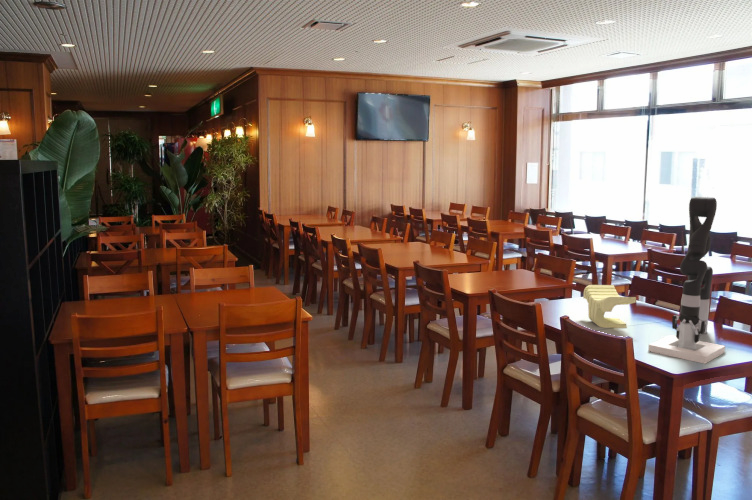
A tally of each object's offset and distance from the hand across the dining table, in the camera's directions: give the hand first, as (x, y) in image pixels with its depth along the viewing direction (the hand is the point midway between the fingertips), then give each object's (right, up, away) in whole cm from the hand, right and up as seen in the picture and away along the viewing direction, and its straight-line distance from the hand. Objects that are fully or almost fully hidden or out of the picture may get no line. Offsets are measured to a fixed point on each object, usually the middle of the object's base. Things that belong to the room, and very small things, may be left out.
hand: (687, 340), depth 287 cm
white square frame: (0, -5, +1) cm, 5 cm away
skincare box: (0, -4, 0) cm, 4 cm away
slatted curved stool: (-19, +2, +47) cm, 51 cm away
